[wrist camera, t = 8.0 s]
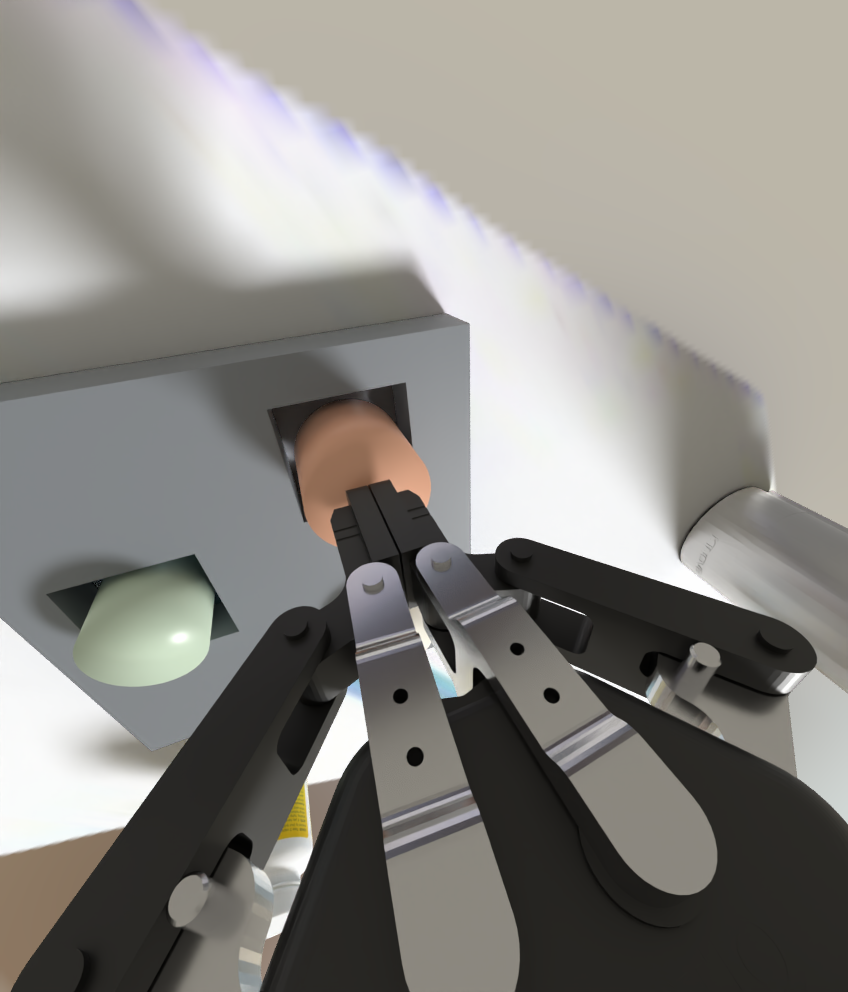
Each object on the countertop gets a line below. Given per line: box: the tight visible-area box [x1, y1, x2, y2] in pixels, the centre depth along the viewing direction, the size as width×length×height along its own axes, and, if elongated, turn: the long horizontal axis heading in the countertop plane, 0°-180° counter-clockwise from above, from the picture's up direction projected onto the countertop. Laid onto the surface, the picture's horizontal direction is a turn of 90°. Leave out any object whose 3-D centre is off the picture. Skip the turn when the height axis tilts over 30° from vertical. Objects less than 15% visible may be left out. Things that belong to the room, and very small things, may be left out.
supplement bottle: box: [263, 778, 313, 939], centre depth 27 cm, size 5×5×10 cm
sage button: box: [73, 554, 215, 687], centre depth 18 cm, size 5×5×4 cm
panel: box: [0, 313, 471, 751], centre depth 20 cm, size 20×20×2 cm
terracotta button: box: [294, 399, 431, 546], centre depth 15 cm, size 5×5×4 cm
